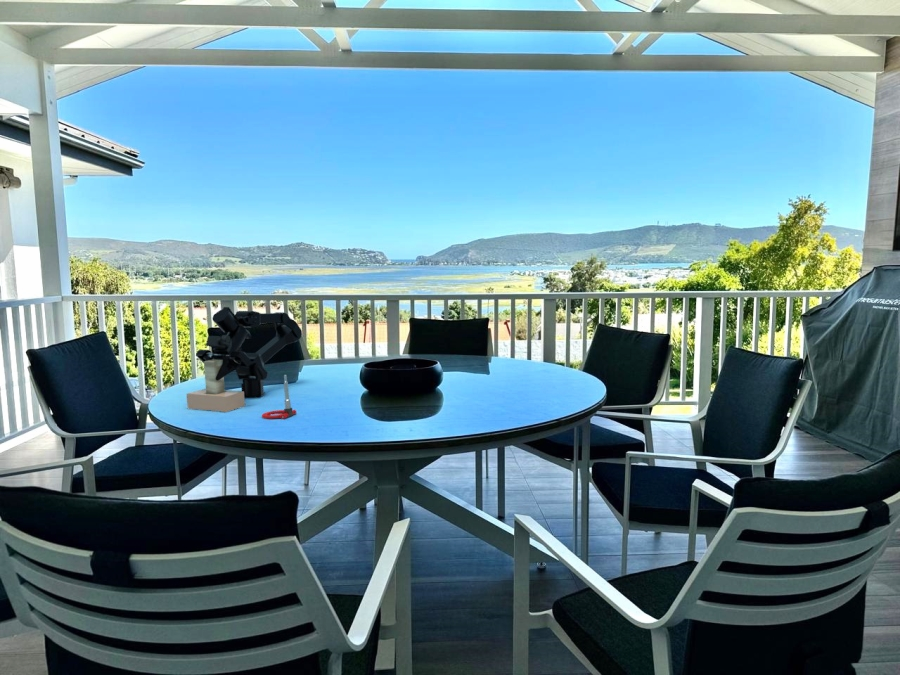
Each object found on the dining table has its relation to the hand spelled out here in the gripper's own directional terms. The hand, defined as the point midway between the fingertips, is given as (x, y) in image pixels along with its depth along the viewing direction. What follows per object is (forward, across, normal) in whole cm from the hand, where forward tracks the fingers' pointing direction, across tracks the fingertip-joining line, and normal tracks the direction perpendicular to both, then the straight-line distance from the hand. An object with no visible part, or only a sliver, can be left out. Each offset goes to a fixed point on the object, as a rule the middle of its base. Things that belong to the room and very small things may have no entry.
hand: (211, 379), depth 188 cm
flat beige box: (+6, 0, +8) cm, 10 cm away
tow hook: (+8, +27, +6) cm, 29 cm away
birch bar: (+4, 0, +6) cm, 7 cm away
